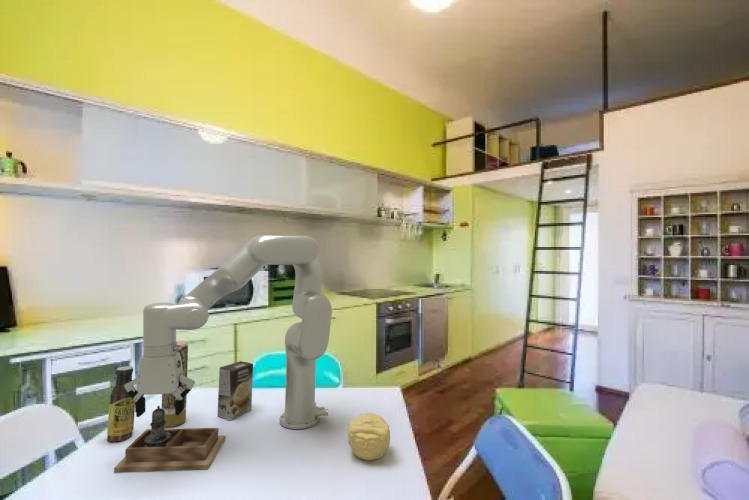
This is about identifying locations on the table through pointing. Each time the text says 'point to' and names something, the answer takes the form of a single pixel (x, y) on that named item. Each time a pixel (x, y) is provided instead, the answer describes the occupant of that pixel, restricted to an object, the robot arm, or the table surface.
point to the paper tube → (170, 399)
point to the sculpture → (369, 436)
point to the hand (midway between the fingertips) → (160, 413)
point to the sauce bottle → (121, 407)
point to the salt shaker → (157, 430)
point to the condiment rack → (173, 451)
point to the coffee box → (235, 389)
